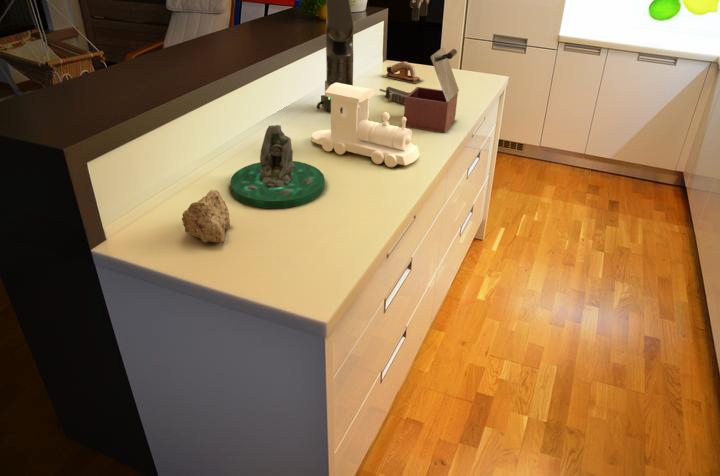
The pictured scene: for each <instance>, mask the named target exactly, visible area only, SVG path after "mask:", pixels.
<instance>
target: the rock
mask: <svg viewBox="0 0 720 476" xmlns="http://www.w3.org/2000/svg"><path fill="white" fill-rule="evenodd" d="M229 211H230V210H229V207H228V206H227V204H226V200H224V198H223V197H222V195H221V194H220V191H218V190H216V189H211V190H210V191H208V192H207V193H206V195H205V196H202V197H201V199H199V200H198V201H196V202H192V203H191V204H189V206H188V208H187V209H186V210H184V211H183V213H182V215H181V216H182V217H181V222H182V225H183V228H184V232H185V233H187V234H189V235H192V236H193V237H195V238H197V239H200V240H201V241H202V242H203V243H209V242H211V243H219V242H221V243H224V241H225V240H226V235H225V233H226V230H227V229H229V228H230V226H231V225H230V223H231V221H230V219H231V218H230V213H229Z"/></svg>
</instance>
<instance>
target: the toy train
mask: <svg viewBox="0 0 720 476" xmlns="http://www.w3.org/2000/svg"><path fill="white" fill-rule="evenodd" d="M375 93H376V91H375V90H374V89H371V88H366V87H363V86H362V87H361V86H356V85H353V86H352V85H347V84H342V83H334V84H332V85H330V86H329V88H328V89H327V90H326V91H325V90H324V95H325V96H326V97H331V112H330V129H321V130H316V131H314V132H313V133H311V141H312V142H313V143H315V144H317V145H321V148H322V149H323V150H324V151H325V152H328V153H329V152H332V151H333V150H334V152H335V154H337V155H340V156H341V155H344V154H345V153H346V152H348V153H353V154H357V155H361V156H364V157H365V156H366V157H368V158H369V157H370V158H371V161H372V162H373V164H376V165H381V164H382V163H383V162H384V164H385V166H387V167H388V168H394V167H396V166H397V165H401V166H408V165H410V164H412V163H414V162H416V161H417V159H418V158H419V156H420V150H419V148H418V145H415V144H413V143H412V141H413V131H412V130H411V129H410V128H407V127H406V126H405V124H406V120H407V119H406V117H404V116H403V117H402V118H401V121H402V122H401V127H400V126H397V125H391V124H390V122H388V121H389V120H390V113H389V112H387V111H384V112H383V113H382V114H381V119H382V120H383V121H382V122H377V121H376V122H375V121H372V120H369V109H370V107H369V105H370V98H371V97H373V96H375ZM342 107H343V113H340V109H341V108H342ZM358 107H359V108H358Z"/></svg>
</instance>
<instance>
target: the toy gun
mask: <svg viewBox="0 0 720 476" xmlns="http://www.w3.org/2000/svg"><path fill="white" fill-rule="evenodd" d="M379 91H380V92H382V93H385V97H386V98H388V102H391V101H394V102H397V103H399V104H400V103H401V104H403V105H405V97H406V96H407V95H408V94H410V93H411V92H407V91H404V90H401V89H399V88H394V87H393V86H392V87H391V86H387V87H386V89H383V88H379Z"/></svg>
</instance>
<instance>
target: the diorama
mask: <svg viewBox="0 0 720 476" xmlns="http://www.w3.org/2000/svg"><path fill="white" fill-rule="evenodd" d="M261 144H262V145H261V148H260V156H259V161H258V162H255V163H251V164H248V165H245V166H244V167H242V168H239V169H238V170H237V171H235V172H234V173H233V175H232V176H231V177H230V181H229V184H230V191H231V194H232V196H233V197H234V198H235V199H236V200H238V201H239V202H240V203H242V204H245V205H249V206H252V207H257V208H262V209H287V208H295V207H298V206H302V205H305V204H307V203H310V202H312V201H314V200H316V199H317V198H318V197H319V196H321V195H322V194H323V192H324V191H325V187H326V185H325V182H326V181H325V176H324V174H323V172H322V171H321V170H320V169H319V168H317V167H316V166H313V165H311V164H309V163H306V162H301V161H296V160H294V159H293V156H294V150H293V147H292V139H291V137H289V136H287V135H286V134H285V133H284V132H283V131H282V126H281V125H279V124H275V125H269V126H268V127H267V128H266V130H265V133H264V137H263V141H262V143H261Z"/></svg>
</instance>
